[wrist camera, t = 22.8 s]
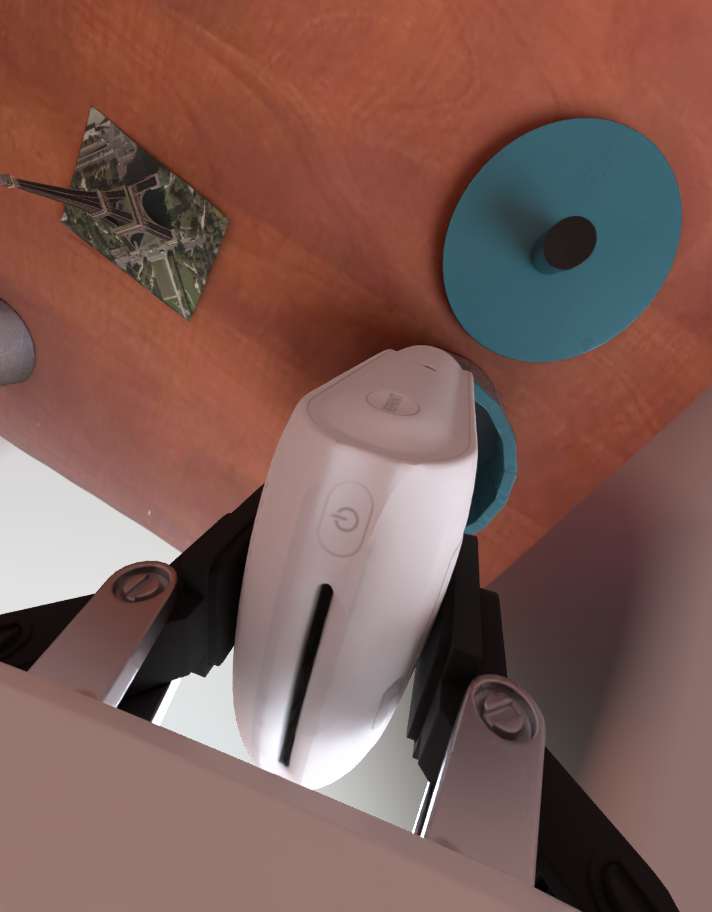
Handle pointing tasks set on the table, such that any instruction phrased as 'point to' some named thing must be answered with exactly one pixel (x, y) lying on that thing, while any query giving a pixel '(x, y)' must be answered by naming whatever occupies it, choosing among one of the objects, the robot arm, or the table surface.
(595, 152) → the lid
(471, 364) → the pot
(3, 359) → the pillar candle
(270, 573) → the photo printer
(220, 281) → the table surface
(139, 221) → the eiffel tower figurine
